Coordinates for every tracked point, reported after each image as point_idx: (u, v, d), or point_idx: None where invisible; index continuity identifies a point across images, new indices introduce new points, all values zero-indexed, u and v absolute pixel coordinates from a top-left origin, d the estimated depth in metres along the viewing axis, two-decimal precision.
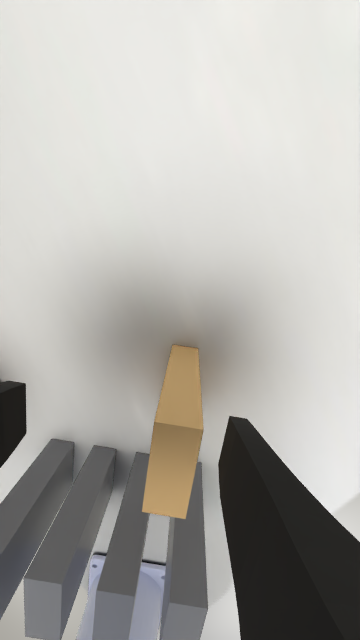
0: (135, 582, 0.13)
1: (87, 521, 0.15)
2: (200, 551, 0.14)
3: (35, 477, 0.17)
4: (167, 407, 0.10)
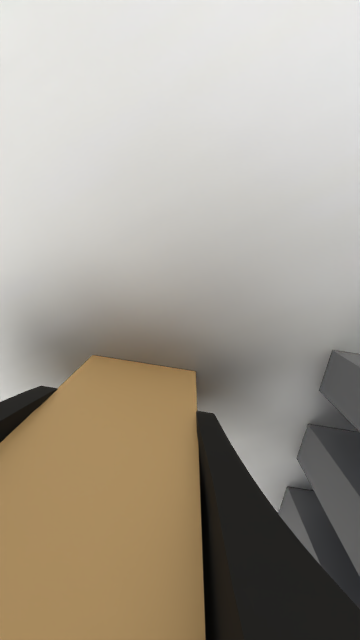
0: None
1: None
2: None
3: None
4: None
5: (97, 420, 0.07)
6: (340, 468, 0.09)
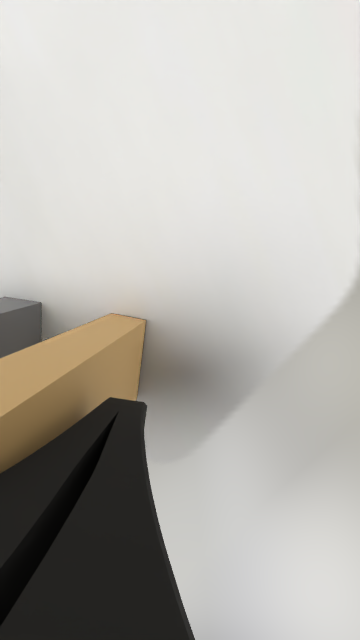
0: None
1: None
2: None
3: None
4: None
5: (105, 390, 0.09)
6: None
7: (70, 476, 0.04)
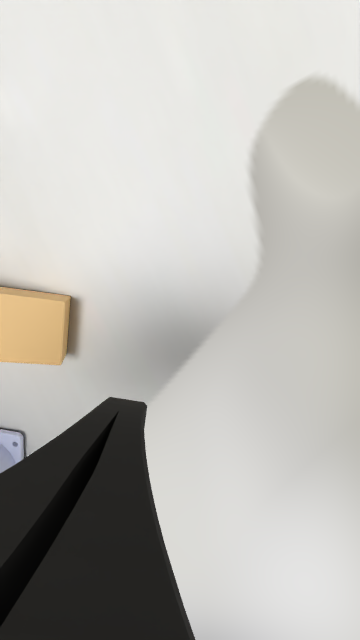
0: None
1: None
2: None
3: None
4: None
5: None
6: None
7: (70, 476, 0.04)
